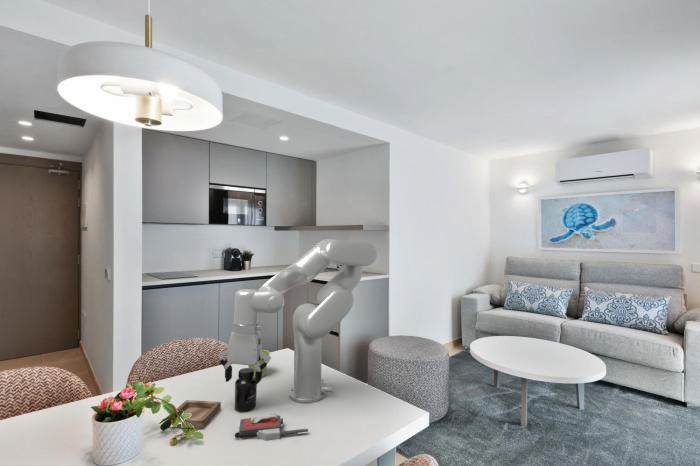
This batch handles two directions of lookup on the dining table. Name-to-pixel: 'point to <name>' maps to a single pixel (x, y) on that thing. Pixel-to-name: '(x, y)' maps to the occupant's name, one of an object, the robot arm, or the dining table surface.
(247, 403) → the supplement bottle
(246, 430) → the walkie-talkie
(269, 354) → the plant pot
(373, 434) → the dining table surface
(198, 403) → the wooden tray
